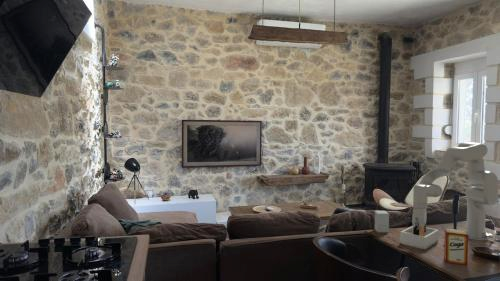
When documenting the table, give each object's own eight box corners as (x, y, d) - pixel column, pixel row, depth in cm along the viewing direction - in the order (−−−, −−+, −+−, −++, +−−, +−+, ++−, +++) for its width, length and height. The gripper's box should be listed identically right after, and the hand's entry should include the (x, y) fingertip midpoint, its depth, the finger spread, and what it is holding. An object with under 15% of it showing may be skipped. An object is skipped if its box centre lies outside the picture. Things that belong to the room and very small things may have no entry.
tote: (414, 236, 216) (414, 225, 216) (438, 241, 206) (438, 230, 205) (400, 243, 202) (400, 231, 202) (425, 249, 192) (425, 237, 192)
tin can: (425, 240, 204) (425, 224, 203) (422, 242, 201) (422, 226, 200) (416, 238, 208) (417, 222, 207) (413, 240, 204) (413, 224, 204)
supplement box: (385, 229, 230) (385, 210, 229) (389, 232, 222) (389, 213, 222) (374, 229, 231) (374, 210, 230) (377, 232, 223) (377, 213, 223)
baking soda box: (465, 260, 177) (465, 230, 176) (467, 265, 171) (468, 233, 170) (444, 257, 180) (444, 228, 180) (445, 262, 174) (446, 231, 174)
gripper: (419, 202, 212) (418, 229, 212) (407, 206, 200) (406, 235, 201) (432, 204, 206) (431, 232, 207) (420, 208, 194) (420, 238, 195)
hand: (419, 233), depth 204 cm, fingers open, 9 cm apart
